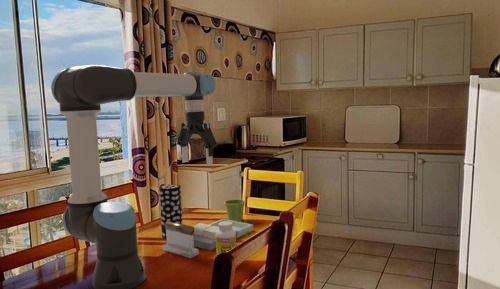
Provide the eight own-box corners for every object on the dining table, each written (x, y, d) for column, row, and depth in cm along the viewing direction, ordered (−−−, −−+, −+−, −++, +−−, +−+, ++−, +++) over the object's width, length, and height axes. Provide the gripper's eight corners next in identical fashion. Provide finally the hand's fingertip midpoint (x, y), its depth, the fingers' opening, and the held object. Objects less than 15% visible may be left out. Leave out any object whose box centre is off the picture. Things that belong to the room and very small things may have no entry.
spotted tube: (185, 232, 170) (182, 184, 167) (179, 239, 161) (177, 188, 159) (165, 232, 170) (162, 184, 168) (159, 239, 162) (156, 189, 160)
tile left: (201, 235, 157) (201, 229, 156) (190, 233, 160) (189, 227, 160) (212, 231, 161) (211, 225, 161) (200, 229, 165) (200, 223, 165)
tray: (238, 237, 161) (237, 231, 161) (207, 230, 171) (207, 224, 170) (253, 230, 169) (253, 224, 169) (223, 224, 178) (223, 218, 178)
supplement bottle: (218, 265, 134) (217, 227, 133) (215, 258, 141) (213, 221, 139) (238, 262, 136) (237, 224, 135) (234, 255, 143) (232, 219, 141)
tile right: (215, 239, 152) (215, 232, 152) (203, 236, 156) (203, 229, 156) (225, 234, 157) (225, 228, 157) (213, 232, 161) (213, 225, 161)
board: (210, 250, 148) (210, 243, 148) (179, 242, 158) (178, 235, 158) (238, 237, 161) (237, 231, 161) (207, 230, 171) (207, 224, 170)
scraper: (190, 258, 142) (188, 228, 141) (162, 250, 150) (161, 222, 149) (198, 254, 145) (197, 225, 144) (171, 247, 153) (169, 219, 152)
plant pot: (221, 219, 186) (220, 200, 185) (240, 216, 190) (240, 198, 189) (229, 225, 177) (228, 205, 176) (249, 221, 181) (248, 202, 180)
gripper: (224, 110, 162) (226, 164, 164) (180, 110, 177) (182, 160, 179) (211, 111, 156) (214, 166, 158) (166, 111, 171) (169, 162, 173)
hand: (197, 163), depth 169 cm, fingers open, 13 cm apart
